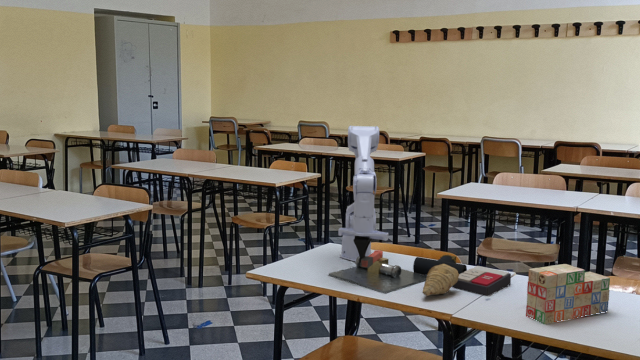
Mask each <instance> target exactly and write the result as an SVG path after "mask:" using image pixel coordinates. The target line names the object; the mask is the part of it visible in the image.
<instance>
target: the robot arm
mask: <svg viewBox="0 0 640 360" xmlns="http://www.w3.org/2000/svg"><path fill="white" fill-rule="evenodd" d="M379 143H380V127H379V126H378V125H376V126H374V125H373V126H370V125H369V126H368V125H366V126H365V125H364V126H363V125H362V126H361V125H349V126H348V128H347V148H348V151H350V152H352V153H353V154H354V156H355V160H354V176H353V178H352V180H353V181H352V192H353V201H354V202H352V203H351V204H350V205H348V206H347V208H346V212H345V227H339V228H338V231H337V232H338V234H337V235H338V236H339V237H341V255H339V258H342V259H345V260H348V261H352V262H355V263H356V259H357V257H358V256H359V263H361V259H362V258H364V257H365V256H369V255H370V254H372V252H371V251H372V249H371V248H372V240H382V241H385V242H387V241H388V240H389V235H390V234H389V232H384V231H381V230H376V228H377V227H376V226H377V217H376V216H377V215H376V213H377V212H376V209H375V194H376V193H377V186H378V184H377V180H378V179H377V173H376V172H375V161H374V159H373V158H372V157H371V154H372V153H374V152H375V153H376V152H377V150H378V147H379Z"/></svg>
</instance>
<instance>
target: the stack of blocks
mask: <svg viewBox="0 0 640 360" xmlns="http://www.w3.org/2000/svg"><path fill="white" fill-rule="evenodd" d="M610 282H611V277H608V276H606V275H602V274H599V273H596V272H593V271H586V269H583V268H580V267H576V266H573V265H571V264H567V263H563V264H555V265H548V266H542V267H534V268H529V269H528V281H527V287H526V288H527V289H526V290H527V291H526V292H527V294H526V295H527V296H526V309H525V317H527V316H528V317H527V318H529V317H531V318H533V319H535V320H534V321H536V320H537V321H536V322H538V321H539V322H538V323H540V322H541V323H540V324H542V323H543V325H549V324H548V323H550V324H553V323H552V322H557V321H561V320H568V319H572V320H574V319H573V318H577V317H581V316H585V315H591V314H596V313H601V312H606V311H608V310H609V301H610ZM608 312H609V311H608ZM531 318H530V319H531ZM533 319H532V320H533ZM577 319H578V318H577ZM568 321H569V320H568ZM557 323H558V322H557Z"/></svg>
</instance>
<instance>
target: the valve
mask: <svg viewBox="0 0 640 360" xmlns="http://www.w3.org/2000/svg"><path fill="white" fill-rule="evenodd" d="M355 265H356V266H353V267H349V268H345V269H341V270H338V271H334V272H328V276H330V277H333V278H336V279H338V280H342V281H345V282H348V283H351V284H354V285H357V286H360V287H363V288H366V289H369V290H373V291H375V292H378V293H381V294H389V293H391V292H395V291H397V290H400V289H403V288H404V289H405V288H408V287H410V286H413V285H416V284H420V283H423V282H425V281H426V278H427V275H423V274H419V273H415V272H414V271H411V270H407V269H404V268H402V267H401V266H400V265H392V264H389V258H387V257H383V258H380V259H378V260H377V261H375V262H374V263H373V265H371V266H370V267H369V268H365V267H361V263H359V256H358V257H357V259H356V262H355Z"/></svg>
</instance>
